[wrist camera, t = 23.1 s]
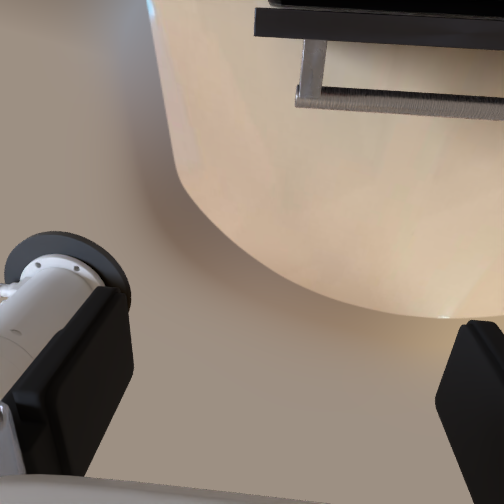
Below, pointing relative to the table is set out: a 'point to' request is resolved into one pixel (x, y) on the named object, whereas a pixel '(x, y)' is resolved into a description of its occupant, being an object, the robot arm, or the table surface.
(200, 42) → the table surface
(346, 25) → the oven door
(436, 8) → the oven
